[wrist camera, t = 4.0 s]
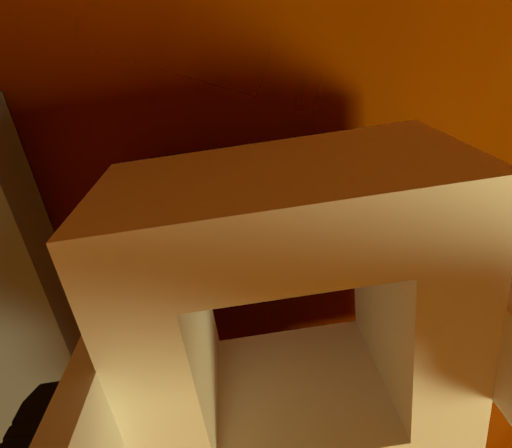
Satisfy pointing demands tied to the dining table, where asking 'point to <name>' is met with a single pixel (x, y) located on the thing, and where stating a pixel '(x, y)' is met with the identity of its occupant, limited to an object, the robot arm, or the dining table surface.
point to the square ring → (297, 290)
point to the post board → (27, 284)
